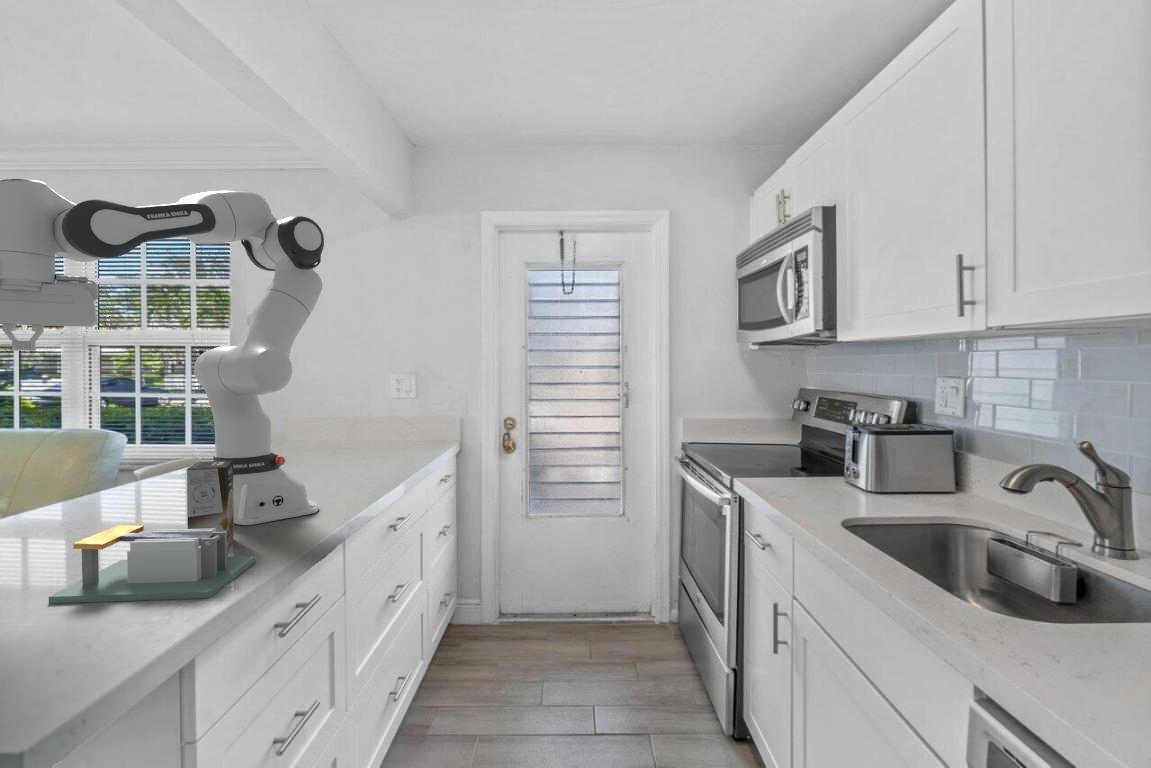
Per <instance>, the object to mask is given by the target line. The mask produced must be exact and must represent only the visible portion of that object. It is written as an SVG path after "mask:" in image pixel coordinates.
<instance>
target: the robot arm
mask: <svg viewBox="0 0 1151 768" xmlns="http://www.w3.org/2000/svg"><path fill="white" fill-rule="evenodd" d="M180 237H182V238H186V239H187V240H189V241H190V242H192V243H194V244H196V245H219V244H226V243H232V242H237V241H241V243H240V244H241V245H242V246H243V248H244V250H245V252H246V255H247V257H248V259H249V260H250V262H252V264H253V265H255V266H256V267H257V268H258V269H260V270H263V271H268V272H274V276H273V279H272V281H271V283H270V285H269V286H268V287H266V289H265V291H264V292H263V294H262V295H261V296H260V298H259V299H258V301H257V302H256V304H255V305H254V307H253V308H252V309H251V310H250V312H249V313H248V315H247V318H246V321H247V325H248V330H247V333H246V335H245V338H244V340H242V341H241V343H239V344H238V345H223V346H218V347H214V348H211V349H209V350H206V351H205V352H203V353H202V354H200V355H199V356H198V357H197V359H196V361H195V363H194V368H193V369H194V370H193V373H194V376H195V378H196V380H197V382H198V383H199V384H200V385H201V386H202V387H203V390H204V391H205V393H206V397H207V399H208V404H209V406H210V410H211V413H212V416H213V418H212V419H213V425H214V446H215V447H214V448H215V449H214V450H215V451H214V452H215V453H214V454H215V455H214V456H213V459H212V461H222V460H233V488H234V525H242V526H252V525H257V524H263V523H269V522H273V521H274V522H275V521H279V520H284V519H290V518H295V517H301V516H307V515H311V514H316V513H317V512H319V505H318V504H317V502H316V501H314V500H312V499H309V496H308V491H307V487H306V486H305V484H304V483H303V482H302V481H301V480H299V479H298V478H297V477H295V476H294V475H292V474H290V473H289V472H287V471H285V470H283V468H281V466H283V465H285V463H286V461H287V459H286V458H285V457H284V456H282V455H278V454H276V453H273V452H272V438H271V437H272V426H271V424H272V422H271V418H270V417H269V416H268V415H267V414H266V412H265V411H264V410H263V407H262V405H261V403H260V400H259V396H262V395H268V394H272V393H275V392H278V391H282V390H283V389H284V388H286V387H287V385H288V384H289V383H290V381H291V380H292V377H293V376H292V375H293V365H292V362H291V360H290V353H291V349H292V347H293V344H294V342H295V340H296V338H297V336H298V335H299V333H300V331H301V330H302V328H303V326H304V325H305V324H306V322H307V320H308V319H309V317H310V315H311V314H312V312H313V310H314V309H315V306H316V304H317V302H318V301H319V298H320V295H321V292H322V290H323V282H322V279H321V276H320V275H319V274H318V273H317V272H316V271H315V270H314V269H315V268H316V267H318V266H319V265H320V264H321V260H322V256H321V255H322V254H323V250H324V247H325V238H324V237H325V235H324V233H323V230H322V229H321V227H320V225H319V224H318V223H317V222H315V221H314V220H313V219H312V218H310V217H306V216H301V215H292V216H288V217H285V218H283V219H279V220H278V218H276V217H275V216H274V215H273V214H272V210H271V207H270V205H269V203H268V202H267V201H266V199H265V198H263V196H261V195H260V194H258V193H256V192H251V191H243V190H241V191H240V190H217V191H216V190H215V191H207V192H200V193H196V194H195V193H194V194H191V195H187V196H185V197H181V198H180V199H178V201H177V202H175V203H169V204H159V205H157V204H156V205H147V206H146V205H145V206H127V205H123V204H119V203H116V202H113V201H109V200H103V199H88V200H84V201H81V202H79V203H77V204H76V203H74V202H72V201H70V200H68V199H66V198H65V197H63V196H61V195H60V194H59V193H57V192H56V191H54V190H53V189H52V188H50V186H48V184H47V183H45V182H43V181H40V180H36V179H29V178H9V179H8V178H4V179H0V325H2V332H4V334H5V335H6V336H7V338H8V339H9V341H11V350H12V351H15V352H16V351H19V352H21V351H25V352H36V351H37V345H36V343H37V341H38V340H39V339H40V337H41V336H42V335H43V334H44V332H45V331H44V326H53V327H55V326H56V327H78V328H79V327H85V328H93V327H94V326H96V324H97V323H98V316H97V314H98V313H97V309H96V304H95V301H97V300H98V298H99V295H100V294H99V286H98V284H97V282H95V281H94V280H92V279H89V278H88V277H86V276H74V275H73V276H71V275H66V274H64V275H63V274H56V257H60V258H64V259H67V260H68V259H69V260H72V261H75V262H80V263H88V262H94V261H95V262H96V261H99V260H105V259H111V258H113V259H114V258H118V257H122V256H124V255H127V254H128V253H130V252H131V251H133V250H134V249H136V248H137V247H138V246H140V245H142V244H144V243H147V242H152V241H159V240H167V239H175V238H180ZM18 325H20V326H31V331H32V332H34V333H33V335H32V336H31V337H30V339H29V340H20V339H18V338H17V336H16V335H15V334H14V333H13V332H16V330H17V329H16V327H17V326H18Z"/></svg>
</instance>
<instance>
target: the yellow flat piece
mask: <svg viewBox="0 0 1151 768" xmlns="http://www.w3.org/2000/svg"><path fill="white" fill-rule="evenodd" d="M144 527H145V525H133V524H132V525H128V524H127V525H126V524H124V525H123V524H118V525H115V526H112V527H110V528H108V529H105V530H103V531H101V532H100V531H99V532H98V533H95V534H92V535H91V536H88V537H86V538H83V539H80V540H79V541H76V542H74V543H73V549H75V550H82V549H98V550H103V549H106V548H108V547H110V546H113V545H115V544H117V543H119V542H132V541H134V540H136V539H175V538H199V543H201V539H202V538H212V535H182V534H152V533H147V532H146V533H145V532H144V529H145V528H144Z"/></svg>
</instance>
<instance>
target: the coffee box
mask: <svg viewBox="0 0 1151 768" xmlns="http://www.w3.org/2000/svg"><path fill="white" fill-rule="evenodd" d="M186 482H187V483H186V492H187V493H186V495H187V496H186V498H187V500H186V501H187V504H186V505H187V509H186V510H187V511H186V512H187V529H208V528H216V532H226V531H227V551H228V550H229V548H230V547H231V545H232V543H233V542H234V541H235V524H234V488H233V460H222V461H213V460H210V461H198V462H196V463H194V464H193V465H190V466H189V467H188V468H187V469H186Z"/></svg>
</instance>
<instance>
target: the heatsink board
mask: <svg viewBox="0 0 1151 768" xmlns="http://www.w3.org/2000/svg"><path fill="white" fill-rule="evenodd" d="M151 534H182V535H212V538H202V539H201V543H199V538H175V539H136V540H134V541H132V542H131V541H129V550H127V552H126V554H127V559H121V560H119V561H116V562H114V563H112V564H110V565H109V566H106V567H104V568H102V569H101V570H99V568H100V567H99V549H81V576H82V577H81V580H79V581H77V582H74V583H73V584H71V585H69V586H67V587H65V588H63V589H61V590H59V591H57V592H55V593H54V594H51V595H49V596H48V597H47V598H48V604H49V605H50V604H75V603H76V604H77V603H81V604H82V603H102V602H103V603H106V602H109V601H110V602H133V601H135V600H136V602H137V601H161V600H162V601H166V600H167V601H168V600H188V599H189V600H190V599H195V600H196V599H210V598H211V597H212V596H214V595H215V594H216V593H218V592H219V591H220V590H221V589H223V588H224V587H225V586H226V585H228V584H229V583H231V582H232V581H233V580H235V579H236V578H237V577H238V576H240V575H241V574H242V573H243V572H245V571H246V570H247V569H249V567H251V566H252V565H254V564H255V563H256V562H257V560H256V559H257V558H256V556H255V555H254V556H253V555H252V556H251V555H250V556H228V550H227V531H226V532H216V528H208V529H188V528H172V529H171V528H169V529H168V528H167V529H166V528H165V529H164V528H163V529H155V530H153V531H152V532H151ZM132 600H133V601H132Z"/></svg>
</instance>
